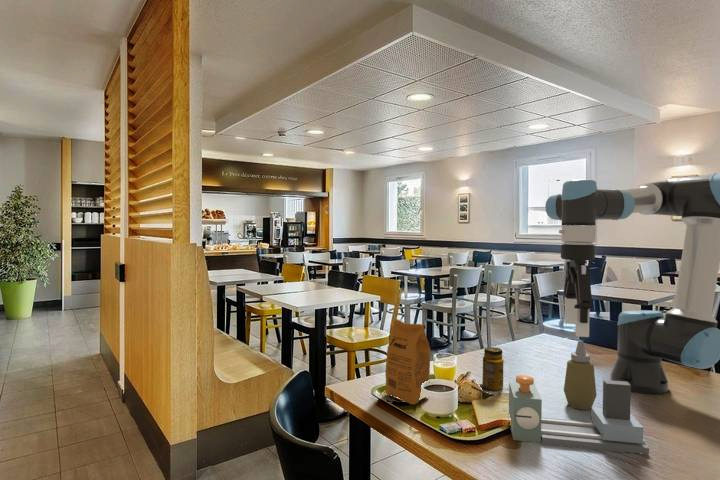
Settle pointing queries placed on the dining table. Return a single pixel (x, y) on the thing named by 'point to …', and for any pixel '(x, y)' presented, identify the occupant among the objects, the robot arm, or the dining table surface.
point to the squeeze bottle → (580, 379)
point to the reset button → (524, 382)
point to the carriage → (617, 414)
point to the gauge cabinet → (525, 413)
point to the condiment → (493, 371)
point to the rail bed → (583, 436)
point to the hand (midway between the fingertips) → (576, 329)
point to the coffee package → (407, 361)
